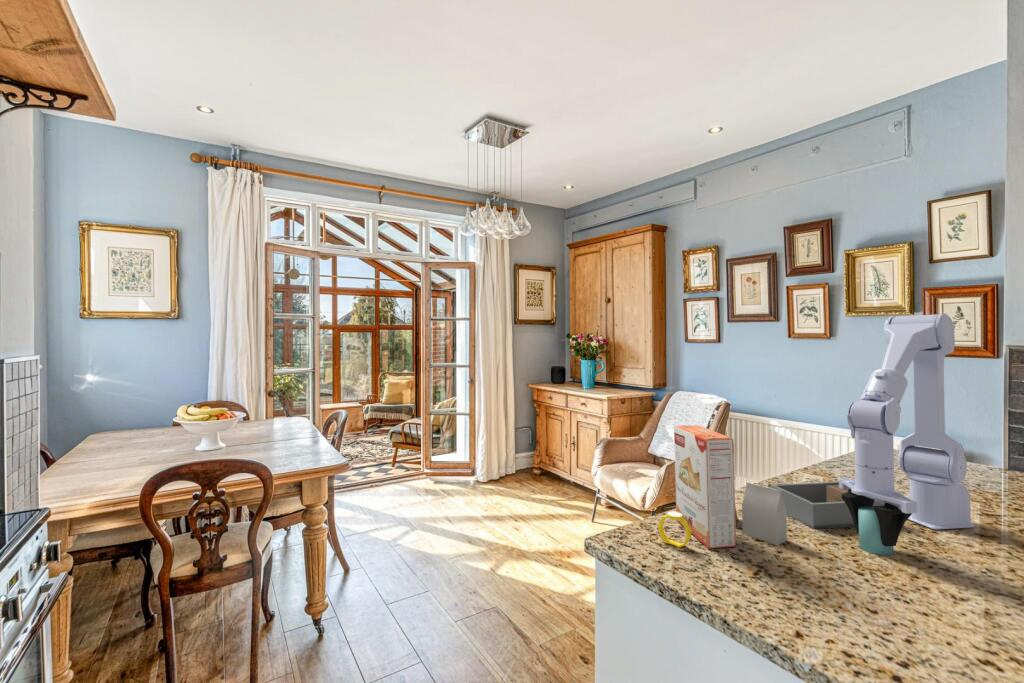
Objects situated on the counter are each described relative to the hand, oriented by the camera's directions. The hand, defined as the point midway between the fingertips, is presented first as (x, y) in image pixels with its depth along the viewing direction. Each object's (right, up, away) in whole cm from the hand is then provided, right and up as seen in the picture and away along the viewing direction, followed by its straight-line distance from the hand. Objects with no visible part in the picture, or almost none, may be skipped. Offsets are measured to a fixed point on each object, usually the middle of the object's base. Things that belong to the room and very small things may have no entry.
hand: (875, 538), depth 86 cm
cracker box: (-28, -3, +8) cm, 30 cm away
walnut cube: (+7, -1, +18) cm, 19 cm away
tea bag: (-17, -3, +6) cm, 18 cm away
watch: (-36, -3, +4) cm, 36 cm away
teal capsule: (0, -2, 0) cm, 2 cm away
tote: (+3, -2, +17) cm, 18 cm away
